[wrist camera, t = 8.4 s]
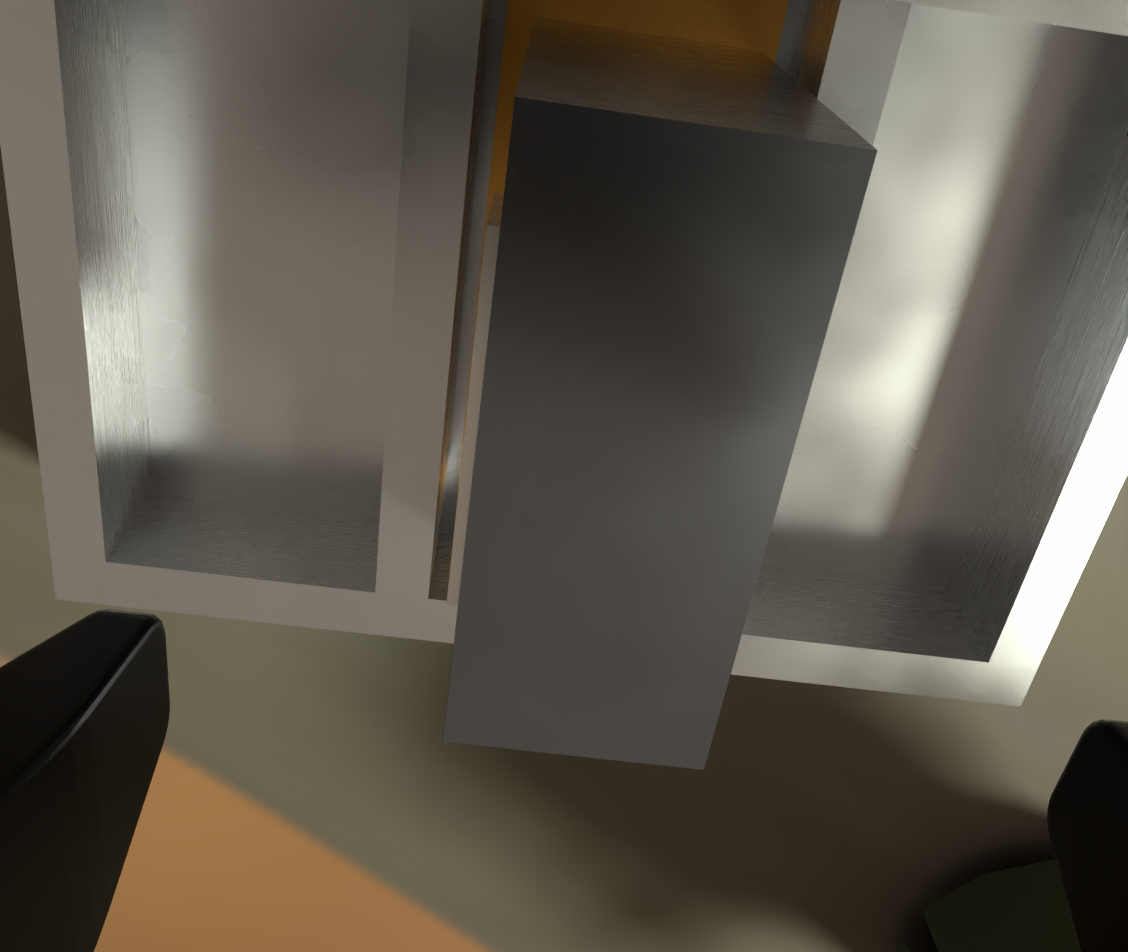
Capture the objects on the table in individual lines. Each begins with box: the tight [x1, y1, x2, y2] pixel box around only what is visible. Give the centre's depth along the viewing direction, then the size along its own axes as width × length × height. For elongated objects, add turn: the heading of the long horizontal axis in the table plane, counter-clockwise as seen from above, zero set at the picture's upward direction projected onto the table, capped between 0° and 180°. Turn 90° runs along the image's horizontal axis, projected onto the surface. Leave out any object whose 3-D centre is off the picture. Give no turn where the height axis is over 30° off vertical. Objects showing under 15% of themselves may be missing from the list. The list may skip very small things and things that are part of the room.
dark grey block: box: [443, 17, 878, 770], centre depth 13 cm, size 3×7×6 cm, turn 172°
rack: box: [0, 0, 1128, 707], centre depth 15 cm, size 15×11×3 cm
